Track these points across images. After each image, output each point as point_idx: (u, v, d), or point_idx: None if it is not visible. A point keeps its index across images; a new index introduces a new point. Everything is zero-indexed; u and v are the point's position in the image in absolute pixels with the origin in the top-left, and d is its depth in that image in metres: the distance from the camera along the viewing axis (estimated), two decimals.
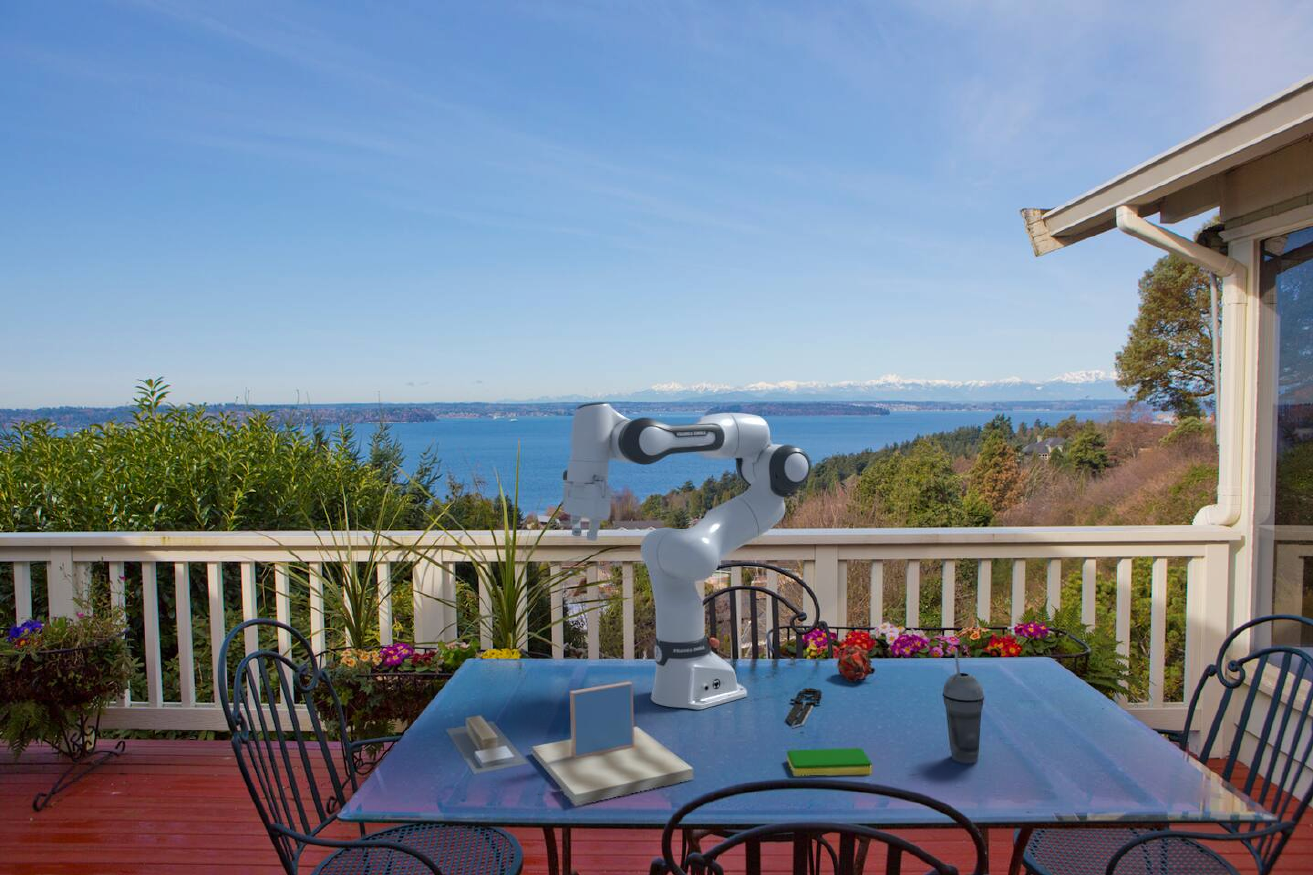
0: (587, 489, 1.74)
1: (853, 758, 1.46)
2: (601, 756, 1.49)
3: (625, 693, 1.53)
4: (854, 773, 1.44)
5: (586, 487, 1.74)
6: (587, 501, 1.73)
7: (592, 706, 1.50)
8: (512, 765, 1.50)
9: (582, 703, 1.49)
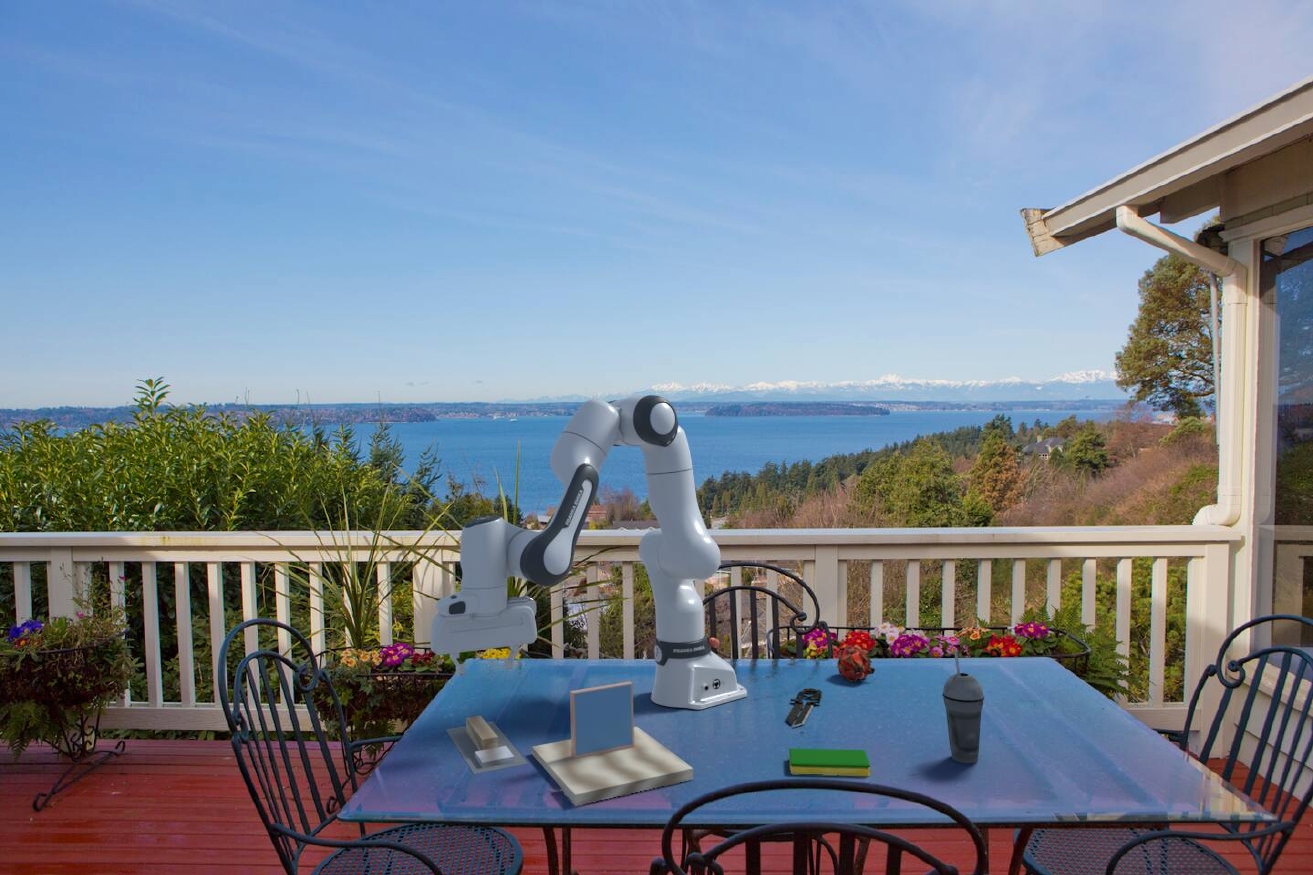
0: (511, 614, 1.58)
1: (852, 759, 1.45)
2: (601, 756, 1.49)
3: (625, 693, 1.53)
4: (852, 774, 1.43)
5: (507, 613, 1.58)
6: (513, 627, 1.58)
7: (592, 706, 1.50)
8: (512, 765, 1.50)
9: (582, 703, 1.49)
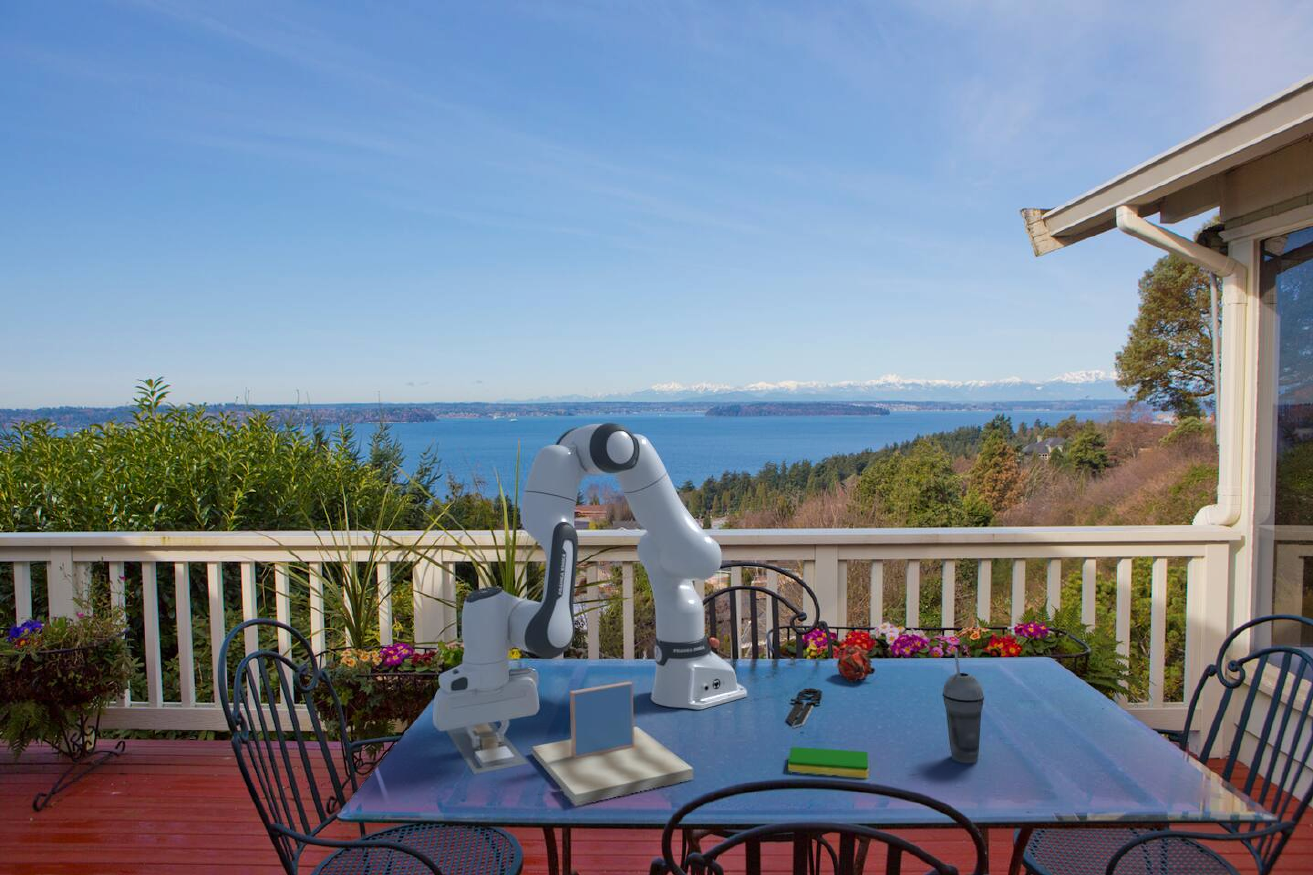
0: (513, 687, 1.58)
1: (851, 760, 1.45)
2: (601, 756, 1.49)
3: (625, 693, 1.53)
4: (849, 775, 1.43)
5: (509, 685, 1.58)
6: (515, 700, 1.58)
7: (592, 706, 1.50)
8: (512, 765, 1.50)
9: (582, 703, 1.49)
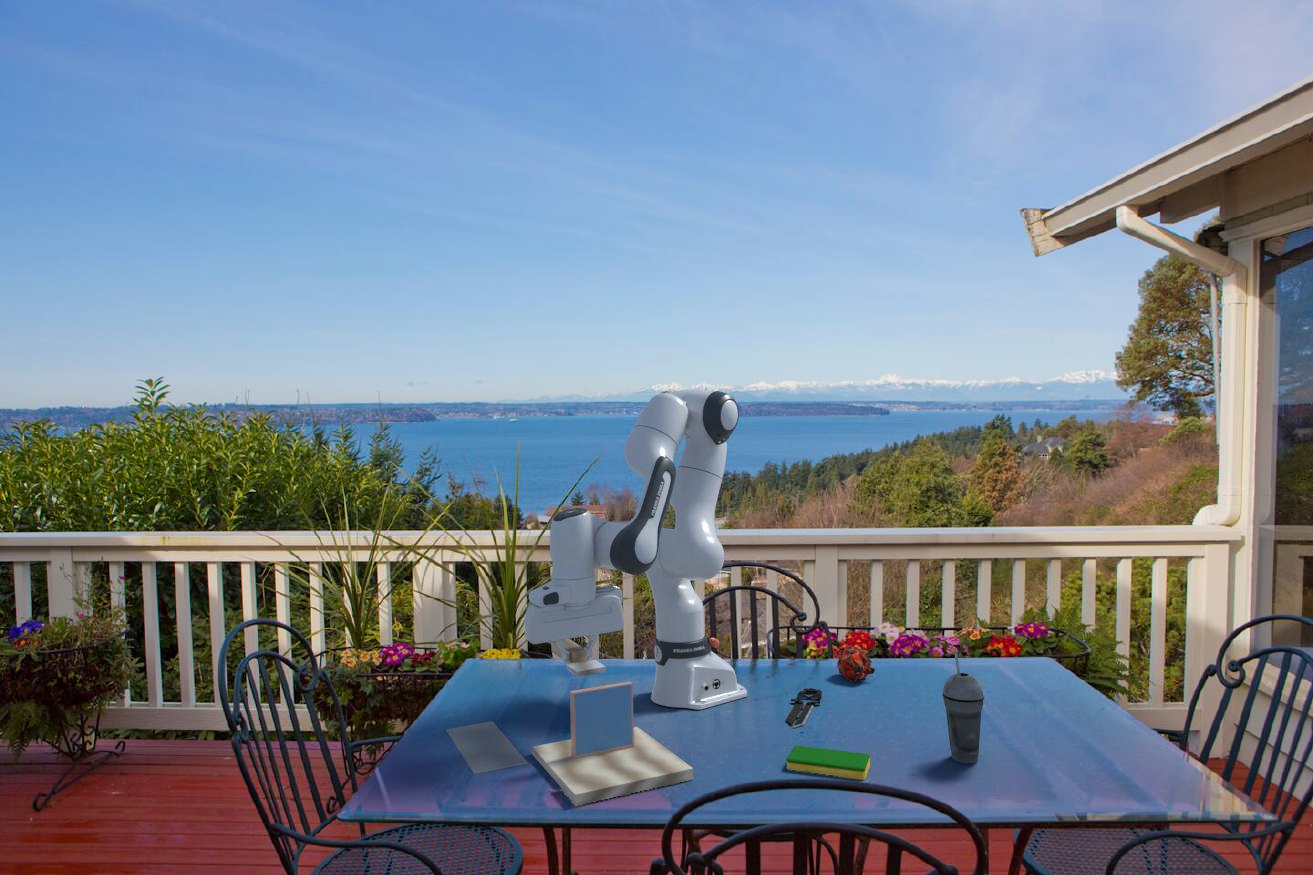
0: (600, 603, 1.64)
1: (850, 762, 1.44)
2: (601, 756, 1.49)
3: (625, 693, 1.53)
4: (846, 776, 1.42)
5: (597, 602, 1.64)
6: (602, 616, 1.64)
7: (592, 706, 1.50)
8: (512, 765, 1.50)
9: (582, 703, 1.49)
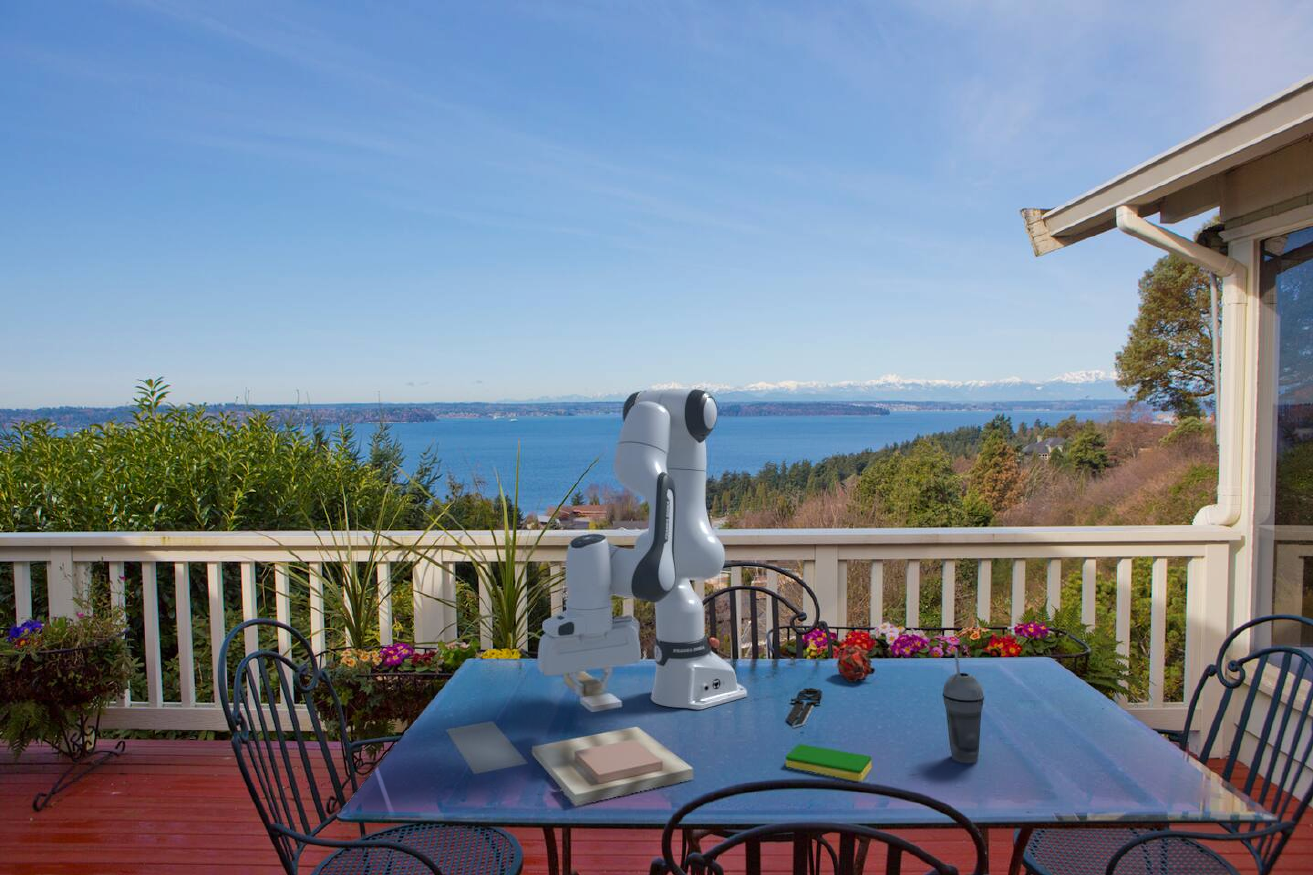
0: (616, 634, 1.57)
1: (848, 763, 1.44)
2: None
3: None
4: (843, 777, 1.42)
5: (613, 633, 1.57)
6: (619, 647, 1.57)
7: None
8: (512, 765, 1.50)
9: None
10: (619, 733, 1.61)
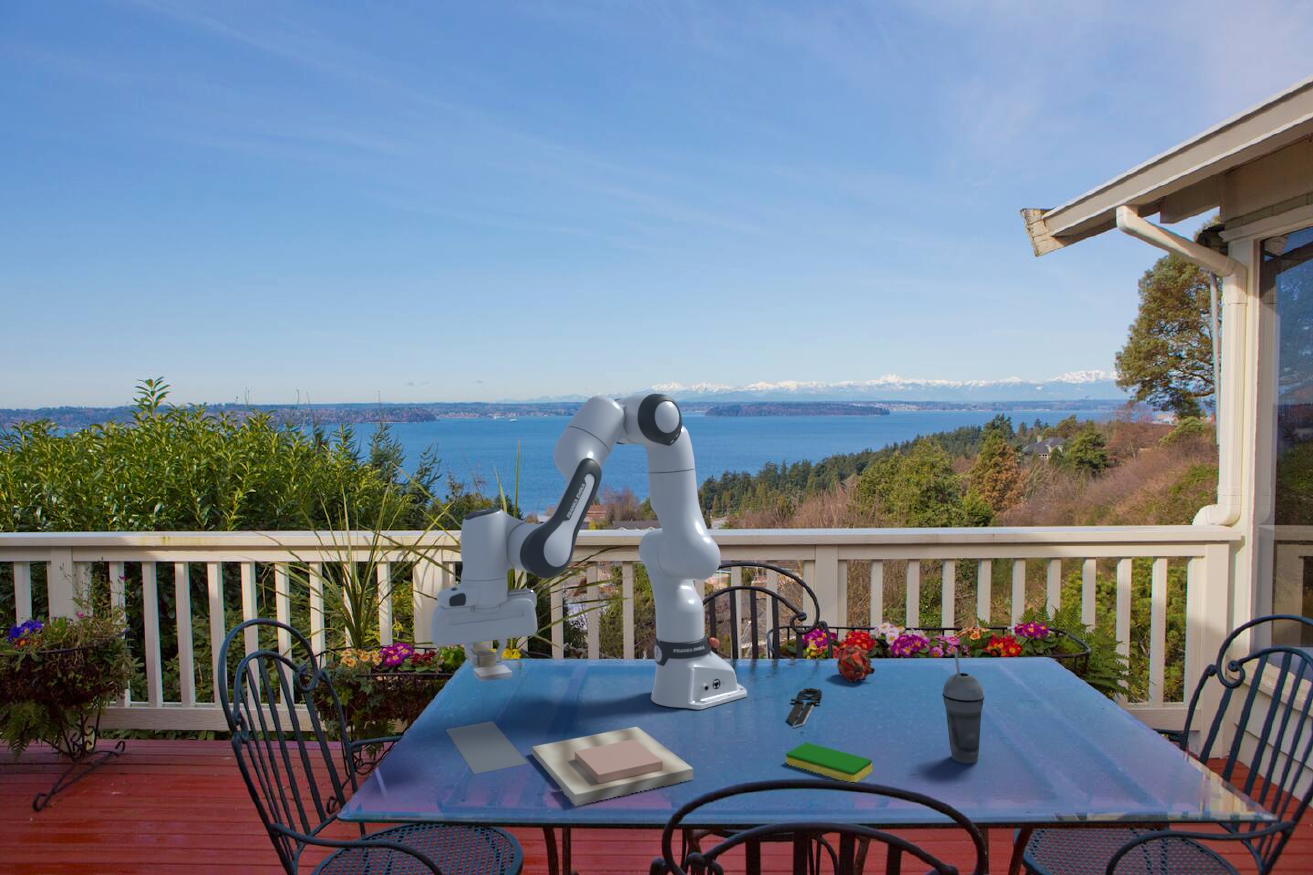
0: (511, 606, 1.58)
1: (844, 764, 1.43)
2: None
3: None
4: (837, 777, 1.42)
5: (508, 605, 1.58)
6: (514, 619, 1.58)
7: None
8: (512, 765, 1.50)
9: None
10: (619, 733, 1.61)
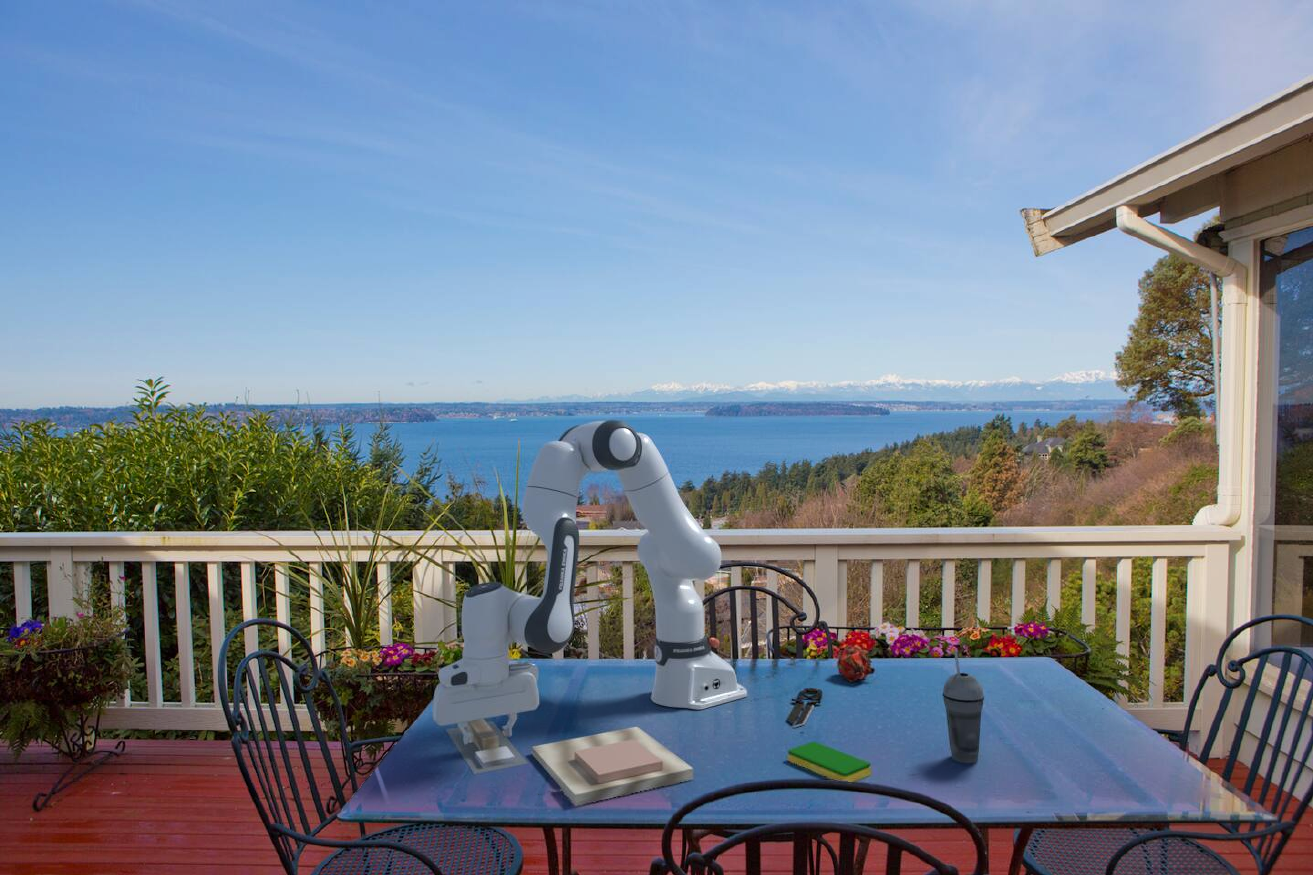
0: (513, 682, 1.58)
1: (840, 765, 1.43)
2: None
3: None
4: (830, 778, 1.42)
5: (509, 680, 1.58)
6: (515, 695, 1.58)
7: None
8: (512, 765, 1.50)
9: None
10: (619, 733, 1.61)
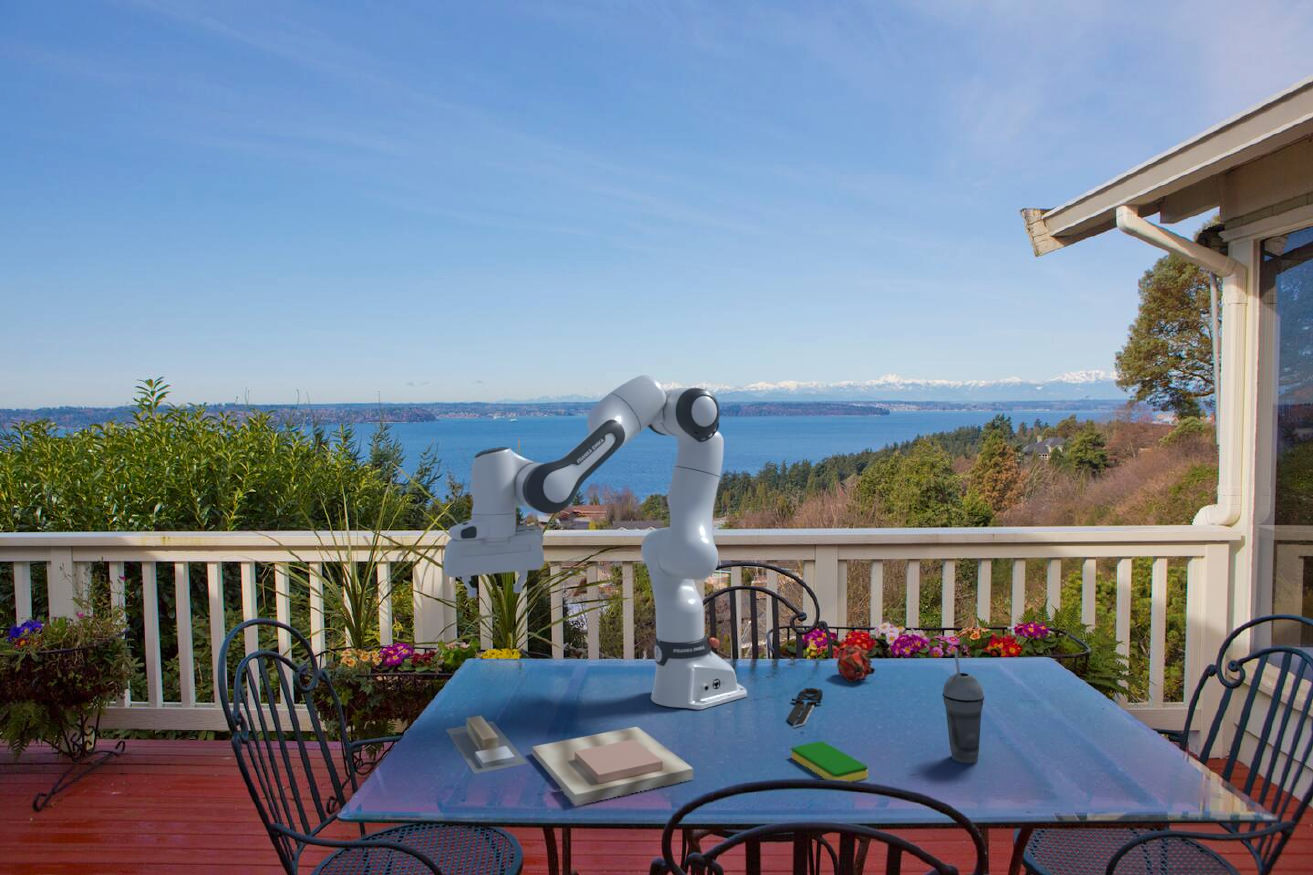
0: (519, 541, 1.66)
1: (835, 765, 1.43)
2: None
3: None
4: (824, 777, 1.42)
5: (516, 539, 1.66)
6: (522, 553, 1.66)
7: None
8: (512, 765, 1.50)
9: None
10: (619, 733, 1.61)
